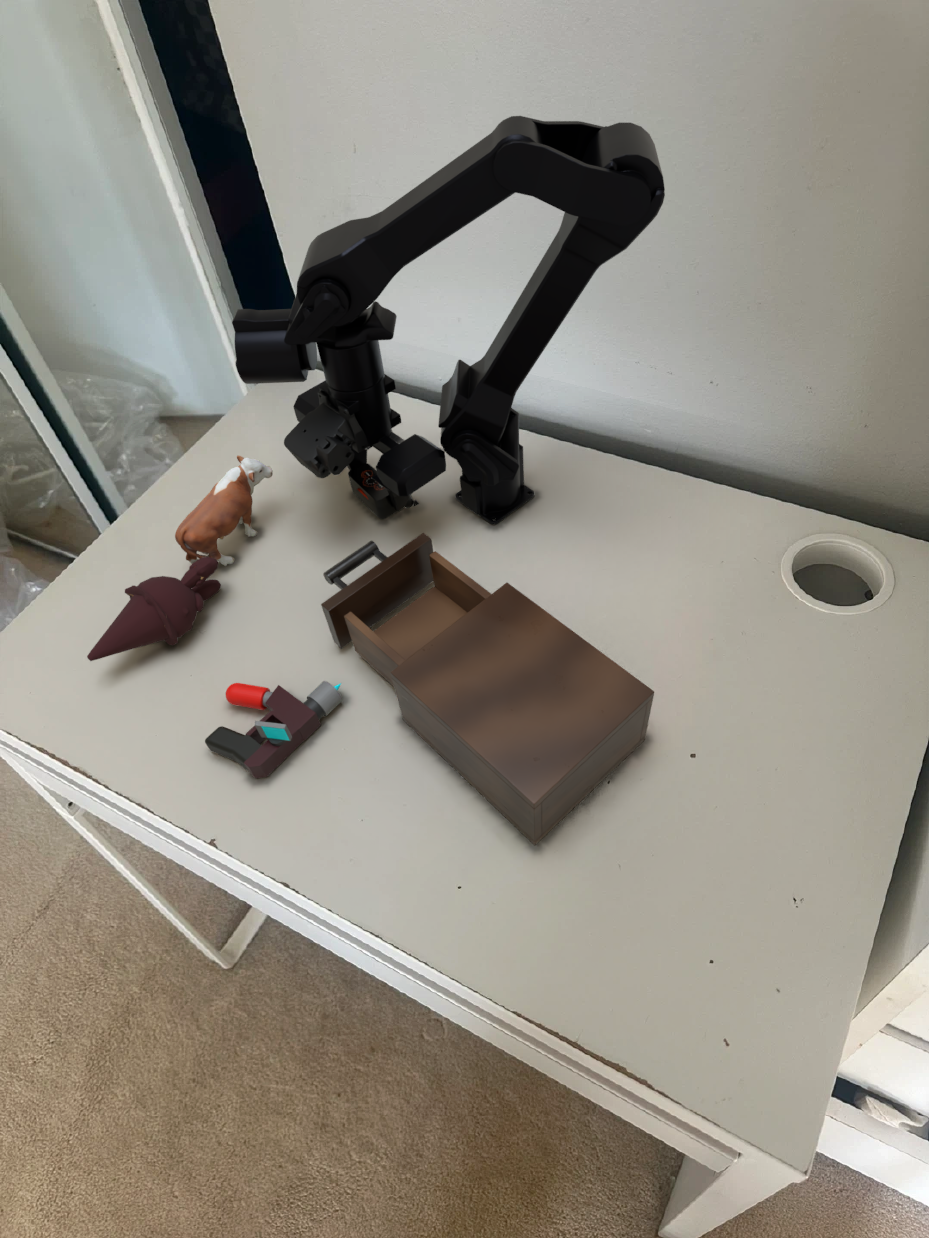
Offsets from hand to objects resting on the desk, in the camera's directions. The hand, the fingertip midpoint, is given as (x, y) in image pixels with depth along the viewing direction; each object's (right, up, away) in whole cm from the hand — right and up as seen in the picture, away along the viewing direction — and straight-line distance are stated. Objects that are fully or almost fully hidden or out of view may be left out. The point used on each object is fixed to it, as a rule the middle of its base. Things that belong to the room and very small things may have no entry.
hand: (379, 494), depth 89 cm
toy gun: (-8, -23, -16) cm, 29 cm away
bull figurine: (-16, -5, -1) cm, 17 cm away
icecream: (-20, -16, -9) cm, 27 cm away
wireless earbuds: (+1, -1, +1) cm, 1 cm away
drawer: (+5, -16, -13) cm, 21 cm away
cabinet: (+14, -24, -19) cm, 34 cm away
